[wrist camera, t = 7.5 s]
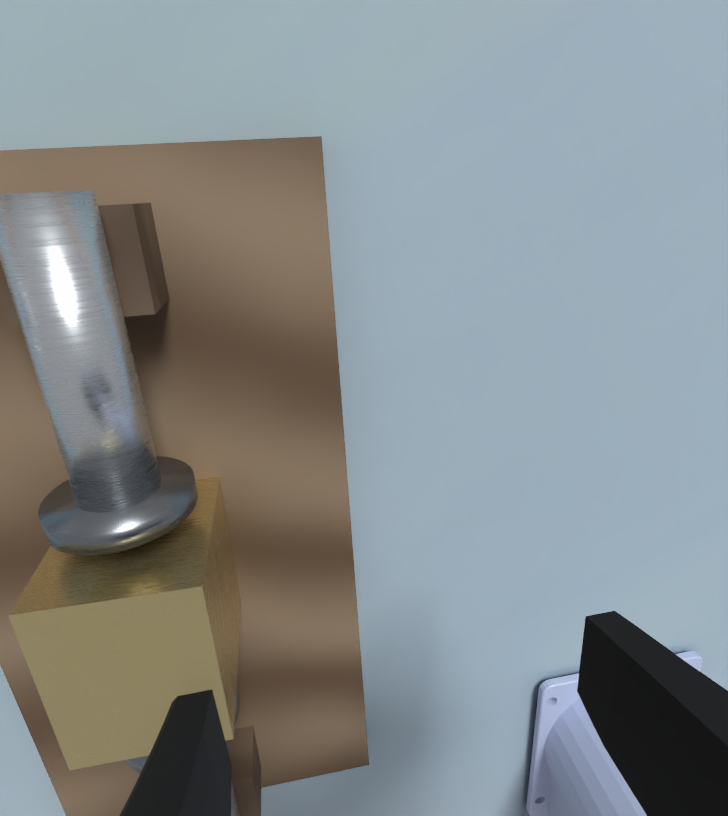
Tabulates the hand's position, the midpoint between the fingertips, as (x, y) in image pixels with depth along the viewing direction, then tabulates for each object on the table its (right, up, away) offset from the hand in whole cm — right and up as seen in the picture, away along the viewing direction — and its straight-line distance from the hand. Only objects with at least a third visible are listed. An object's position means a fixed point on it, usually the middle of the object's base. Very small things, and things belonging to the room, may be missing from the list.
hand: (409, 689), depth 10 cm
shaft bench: (-7, +1, +8) cm, 11 cm away
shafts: (-7, 0, +6) cm, 10 cm away
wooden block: (-7, +1, +7) cm, 10 cm away
